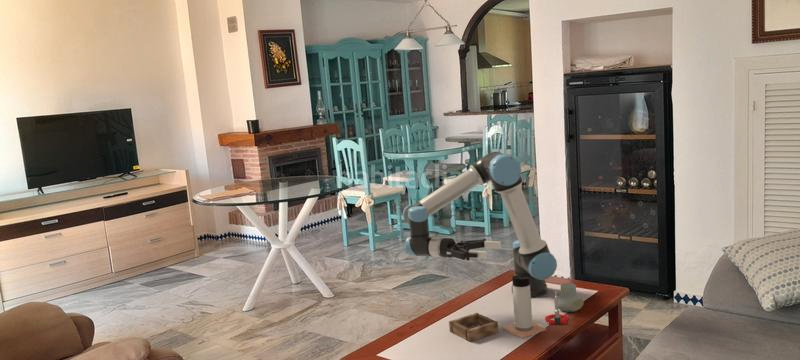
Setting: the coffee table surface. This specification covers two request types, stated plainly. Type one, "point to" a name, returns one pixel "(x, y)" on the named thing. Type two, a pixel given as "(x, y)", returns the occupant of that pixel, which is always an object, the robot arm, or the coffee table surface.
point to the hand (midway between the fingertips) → (494, 250)
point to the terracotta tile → (524, 334)
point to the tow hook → (556, 314)
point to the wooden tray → (483, 330)
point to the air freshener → (569, 298)
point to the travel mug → (522, 303)
